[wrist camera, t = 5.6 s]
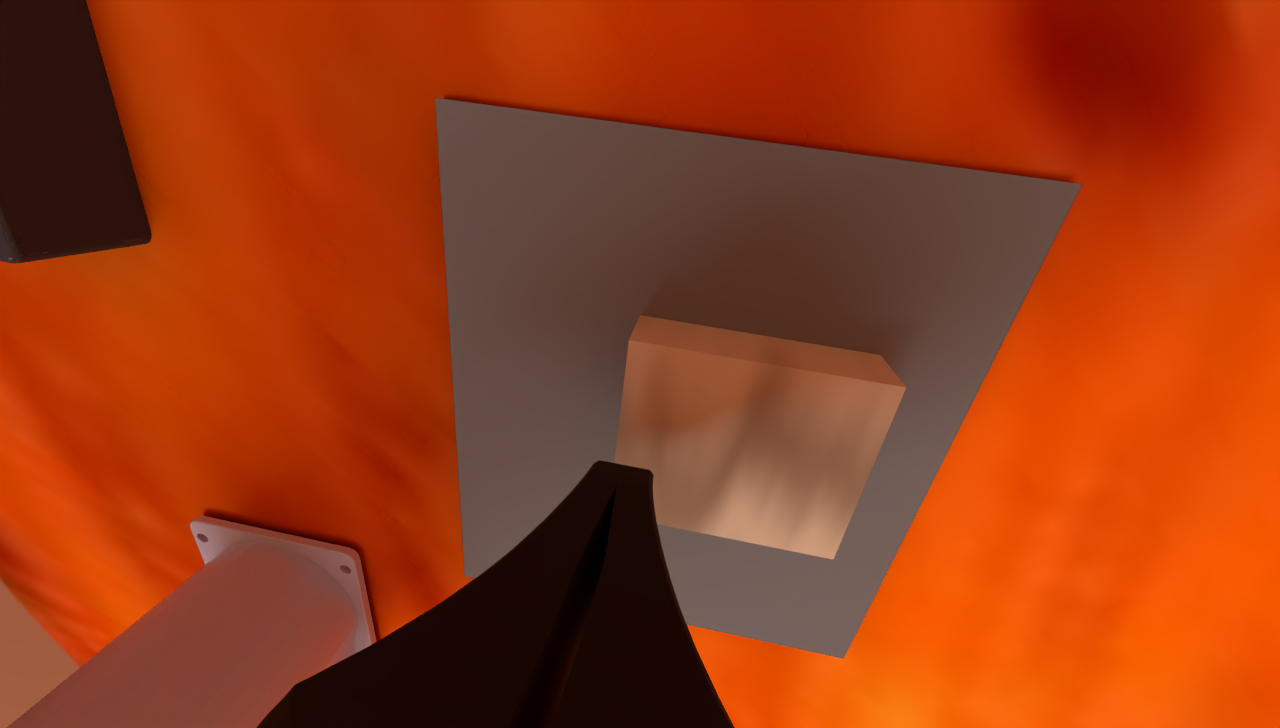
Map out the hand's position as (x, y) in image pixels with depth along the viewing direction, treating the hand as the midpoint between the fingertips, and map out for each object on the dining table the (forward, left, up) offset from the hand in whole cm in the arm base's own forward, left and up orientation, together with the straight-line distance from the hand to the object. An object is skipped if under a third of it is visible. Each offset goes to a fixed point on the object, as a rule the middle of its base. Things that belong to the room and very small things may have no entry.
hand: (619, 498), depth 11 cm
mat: (-1, -1, -5) cm, 5 cm away
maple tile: (0, +1, -3) cm, 4 cm away
